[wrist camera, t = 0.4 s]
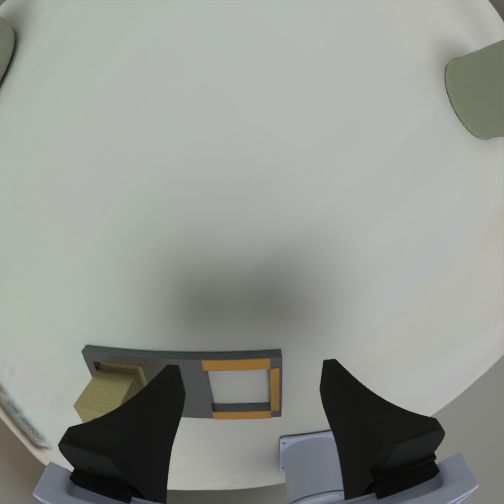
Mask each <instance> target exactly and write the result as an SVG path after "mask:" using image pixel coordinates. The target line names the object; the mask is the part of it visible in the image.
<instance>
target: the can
mask: <svg viewBox="0 0 504 504" xmlns="http://www.w3.org/2000/svg"><path fill="white" fill-rule="evenodd" d="M445 82H446V88H447V92H448V95H449V98H450V101H451V104H452V106H453V108H454V110H455V112H456V114H457V116H458V117H459V119H460V120H461V122H462V123H463V125H464V126H465V127H466V128H467V129H468V130H469V131H470V132H471V133H472V134H473V135H475V136H476V137H478V138H481V139H491V138H494V137H504V40H502V41H499V42H497V43H494V44H492V45H489V46H487V47H485V48H482V49H480V50H478V51H475V52H473V53H470V54H468V55H466V56H463V57H461V58H456V59H453V60H451V61H450V62H449V63H448V65H447V67H446V72H445Z"/></svg>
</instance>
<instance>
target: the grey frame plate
mask: <svg viewBox="0 0 504 504" xmlns="http://www.w3.org/2000/svg"><path fill="white" fill-rule="evenodd" d="M82 354H83V356H84V359H85V361H86V364H87V366H88V368H89V371H90V373H91V375H92V378H93V376H94V375H95V373H96V372H97V371H98V369H99V368H100V366H101V363H100V362H102V363H109V364H118V365H127V366H137V367H142V370H143V372H144V375H145V378H146V381H147V384H148V383H149V382H150V381H151V380H152V379H153V378H154V377H155V376H156V375H157V374H158V373H159V372H160V371H161V370H162V369H163V368H164V367H165V366H166V365H167V364H171V365H179V368H180V372H181V376H182V380H183V384H184V388H185V392H186V396H185V403H184V409H183V412H182V416H181V417H191V418H214V419H261V418H271V417H281V406H282V354H281V349H280V350H265V351H245V352H164V351H144V350H130V349H118V348H108V347H98V346H90V345H86V346H85V347H84V349H83V350H82ZM258 369H269V370H270V403H251V404H214V402H213V398H212V393H211V388H210V383H209V378H208V373H207V371H228V370H258Z"/></svg>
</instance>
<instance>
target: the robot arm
mask: <svg viewBox="0 0 504 504" xmlns="http://www.w3.org/2000/svg"><path fill="white" fill-rule="evenodd" d="M320 394H321V399H322V404H323V408H324V410H325V413H326V416H327V419H328V422H329V425H330V428H331V430H332V431H327V432H321V433H314V434H307V435H298V436H289V437H282V438H280V453H279V471H280V472H285V480H286V488H287V499H288V504H458V503H460V502H461V501H462V500H463V499H464V498H466V497H467V496H468V495H469V494H470V493H471V492H473V491H474V490H475V489H476V488H477V487H478V486H479V483H478V482H477V480H476V478H475V476H474V475H473V473H472V471H471V469H470V468H469V466H468V464H467V463H466V461H465V459H464V458H463V456H462V454H461V453H460V452H458V453H456V454H454V455H453V456H451V457H449V458H447V459H445V460H443V461H442V462H440V463H438V464H437V465H436V463H435V461H434V460H436V456H435V454H434V452H435V450H436V449H437V448H438V446H439V445H440V443H441V442H442V440H443V438H444V436H445V431H444V430H443V428H442V426H441V425H440V423H439V422H438V421H437V419H436V418H432V417H428V416H424V415H420V414H416V413H413V412H411V411H408V410H405V409H403V408H400V407H398V406H396V405H394V404H392V403H390V402H388V401H386V400H385V399H383V398H381V397H380V396H378V395H376V394H375V393H373V392H372V391H371V390H369V389H368V388H367V387H365V386H364V385H363V384H362V383H360V382H359V381H358V380H357V379H356V378H355V377H354V376H352V375H351V374H350V373H349V372H348V371H347V370H346V369H345V368H344V367H343V366H342V365H341V364H340V363H339V362H338V361H337V360H336V359H330V360H323V368H322V375H321V382H320ZM185 396H186V392H185V388H184V384H183V380H182V376H181V372H180V368H179V365H171V364H167V365H166V366H165V367H164V368H163V369H162V370H161V371H160V372H159V373H158V374H157V375H156V376H155V377H154V378H153V379H152V380H151V381H150V382H149V383H148V384H147V385H146V386H145V387H144V388H143V389H142V390H140V391H139V392H138V393H137V394H136V395H135V396H133V397H132V398H131V399H129V400H128V401H127V402H125V403H124V404H122V405H121V406H119V407H118V408H116V409H114V410H112V411H110V412H109V413H107V414H105V415H103V416H101V417H98V418H96V419H94V420H91V421H88V422H86V423H82V424H79V425H75V426H72V427H69V428H68V429H67V431H66V432H65V434H64V436H63V437H62V439H61V441H60V442H59V444H58V447H59V450H60V452H61V453H62V455H63V456H64V457H65V458H66V459H67V460H68V462H69V463H70V464H71V465H72V466H73V467H74V470H73V472H71V471H69V470H68V469H66V468H64V467H62V466H59V465H57V464H55V463H53V462H49V464H48V466H47V467H46V469H45V471H44V473H43V475H42V477H41V479H40V480H39V482H38V484H37V486H36V488H35V490H34V492H33V495H34V496H35V497H36V498H38V499H39V500H40V501H41V502H43V503H44V504H166V495H167V482H168V472H169V464H170V457H171V451H172V446H173V442H174V439H175V435H176V432H177V429H178V426H179V422H180V419H181V416H182V412H183V409H184V403H185Z"/></svg>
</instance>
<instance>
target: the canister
mask: <svg viewBox="0 0 504 504" xmlns="http://www.w3.org/2000/svg"><path fill="white" fill-rule="evenodd" d="M14 41H15V37H14V31H13V29H12V27H11V25H10V24H9V23H8V22H7V21H5V20H4V19H3V18H2V17H0V81H1V79H2V77H3V76H4V73H5V71H6V69H7V66H8V64H9V61H10V58H11V56H12V52H13V47H14Z"/></svg>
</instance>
